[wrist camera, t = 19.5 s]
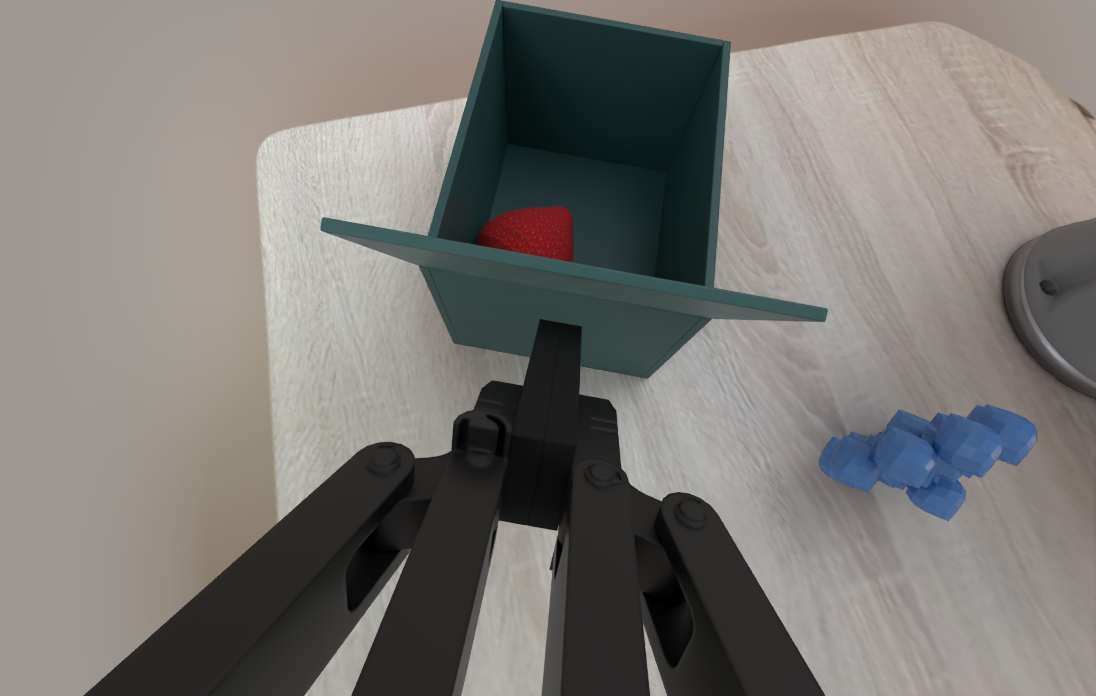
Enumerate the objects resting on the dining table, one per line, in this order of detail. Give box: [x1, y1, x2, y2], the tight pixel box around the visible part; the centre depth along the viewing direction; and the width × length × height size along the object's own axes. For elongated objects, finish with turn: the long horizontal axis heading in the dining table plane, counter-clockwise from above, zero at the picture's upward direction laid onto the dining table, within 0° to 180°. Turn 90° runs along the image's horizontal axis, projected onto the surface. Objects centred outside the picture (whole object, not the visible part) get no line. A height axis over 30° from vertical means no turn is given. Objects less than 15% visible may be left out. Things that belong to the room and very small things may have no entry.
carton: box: [419, 0, 731, 378], centre depth 32 cm, size 19×15×12 cm
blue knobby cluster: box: [819, 405, 1037, 521], centre depth 28 cm, size 12×7×12 cm, turn 102°
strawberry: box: [477, 206, 574, 262], centre depth 34 cm, size 6×8×10 cm
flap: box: [321, 217, 828, 322], centre depth 18 cm, size 9×15×1 cm
